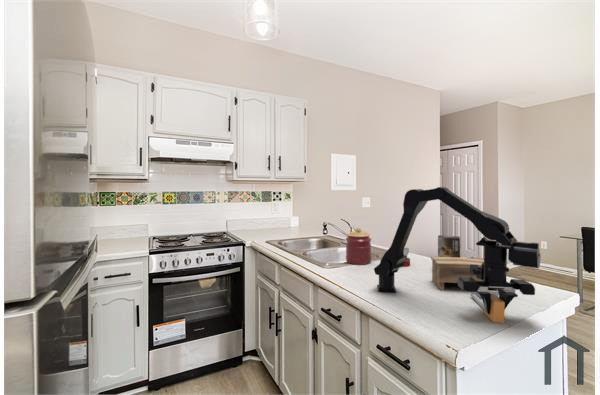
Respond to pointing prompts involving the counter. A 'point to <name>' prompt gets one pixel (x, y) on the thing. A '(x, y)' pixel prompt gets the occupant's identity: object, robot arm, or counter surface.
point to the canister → (358, 247)
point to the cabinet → (453, 269)
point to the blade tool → (492, 306)
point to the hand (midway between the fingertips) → (493, 313)
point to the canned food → (407, 261)
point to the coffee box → (448, 246)
